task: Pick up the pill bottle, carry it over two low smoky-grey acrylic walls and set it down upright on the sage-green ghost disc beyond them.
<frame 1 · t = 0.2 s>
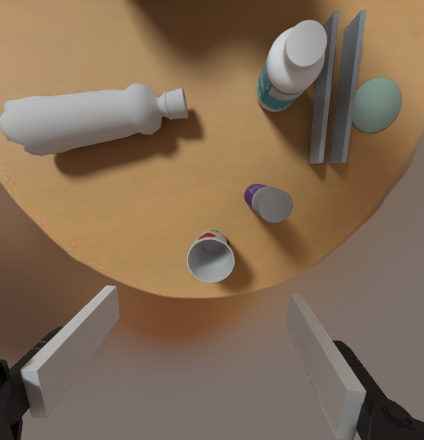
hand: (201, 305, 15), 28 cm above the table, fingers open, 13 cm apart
spot: (374, 106, 36), on the table
pill bottle: (275, 91, 36), on the table
wall 2: (316, 102, 36), on the table
bottle: (115, 126, 39), on the table
wall 1: (338, 101, 36), on the table
container: (255, 195, 40), on the table
cup: (212, 241, 43), on the table
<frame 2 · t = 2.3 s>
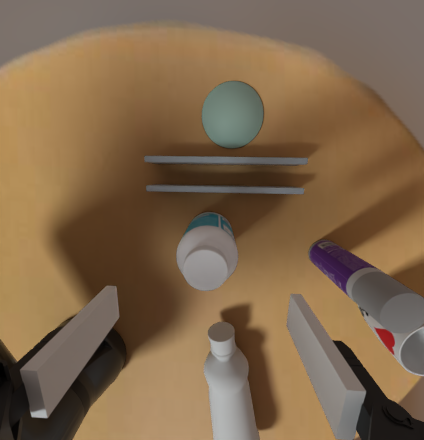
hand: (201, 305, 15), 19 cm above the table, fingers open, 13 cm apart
spot: (232, 116, 29), on the table
pill bottle: (210, 232, 33), on the table
wall 2: (223, 187, 31), on the table
bottle: (231, 378, 40), on the table
wall 1: (224, 161, 30), on the table
container: (321, 252, 33), on the table
cup: (371, 300, 35), on the table
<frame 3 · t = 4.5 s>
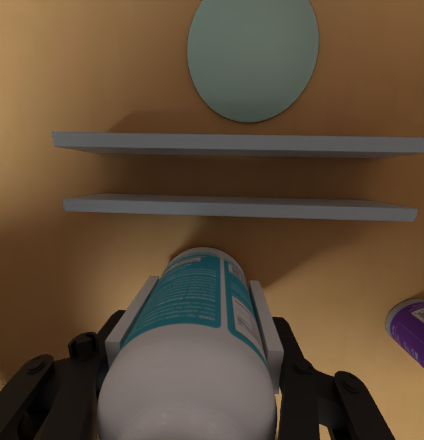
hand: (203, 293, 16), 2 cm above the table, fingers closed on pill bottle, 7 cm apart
spot: (251, 52, 14), on the table
pill bottle: (205, 281, 18), on the table, touching gripper
wall 2: (230, 201, 16), on the table
wall 1: (232, 150, 15), on the table
container: (409, 319, 18), on the table
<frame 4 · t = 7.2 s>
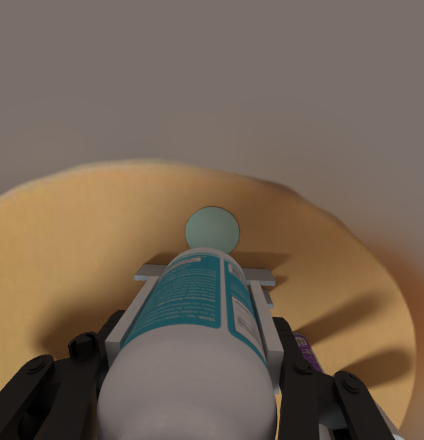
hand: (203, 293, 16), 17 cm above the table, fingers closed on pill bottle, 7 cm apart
spot: (212, 233, 33), on the table
pill bottle: (205, 281, 18), point 15 cm above the table, touching gripper
wall 1: (205, 268, 34), on the table
container: (294, 341, 37), on the table
when the fingers open (3 cm above the table, at t = 10.1 s): pill bottle drops 1 cm, resting on spot.
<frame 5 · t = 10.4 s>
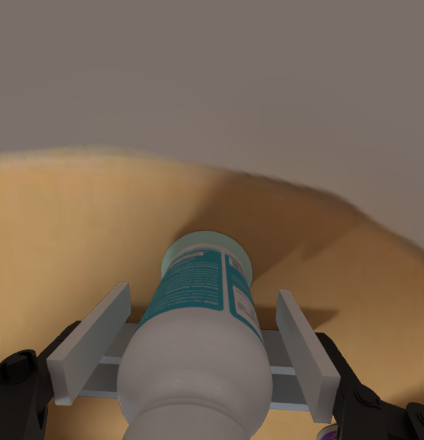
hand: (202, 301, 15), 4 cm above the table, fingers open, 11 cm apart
spot: (206, 274, 19), on the table
pill bottle: (207, 275, 19), resting on spot
wall 2: (195, 359, 22), on the table
wall 1: (196, 329, 21), on the table
container: (335, 436, 24), on the table
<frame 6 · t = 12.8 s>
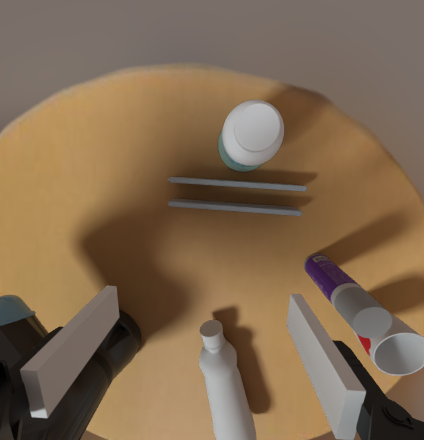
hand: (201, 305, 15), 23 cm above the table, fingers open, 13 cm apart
spot: (244, 144, 34), on the table
pill bottle: (244, 145, 33), resting on spot
wall 2: (233, 204, 36), on the table
bottle: (227, 368, 46), on the table
wall 1: (235, 182, 35), on the table
container: (316, 264, 38), on the table
cup: (358, 309, 40), on the table
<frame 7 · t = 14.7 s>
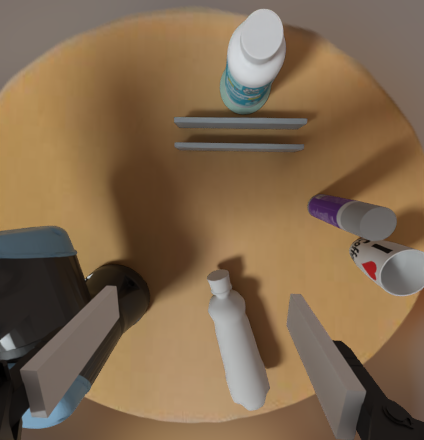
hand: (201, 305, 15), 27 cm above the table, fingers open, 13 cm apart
spot: (245, 86, 35), on the table
pill bottle: (245, 87, 35), resting on spot
wall 2: (236, 148, 37), on the table
bottle: (235, 322, 46), on the table
wall 1: (237, 126, 36), on the table
container: (318, 205, 39), on the table
cup: (361, 249, 41), on the table
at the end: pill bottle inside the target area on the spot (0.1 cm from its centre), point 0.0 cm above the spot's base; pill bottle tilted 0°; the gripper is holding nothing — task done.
